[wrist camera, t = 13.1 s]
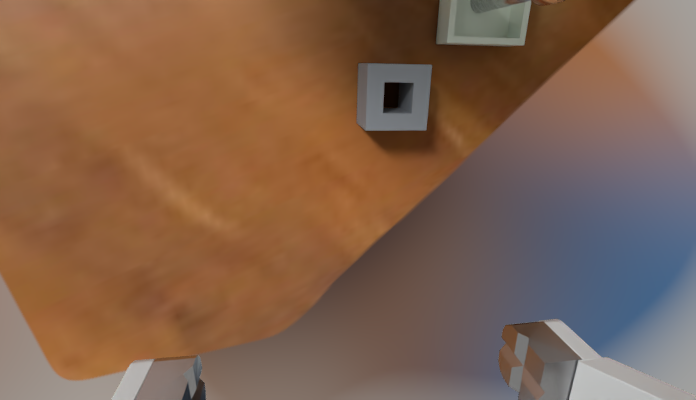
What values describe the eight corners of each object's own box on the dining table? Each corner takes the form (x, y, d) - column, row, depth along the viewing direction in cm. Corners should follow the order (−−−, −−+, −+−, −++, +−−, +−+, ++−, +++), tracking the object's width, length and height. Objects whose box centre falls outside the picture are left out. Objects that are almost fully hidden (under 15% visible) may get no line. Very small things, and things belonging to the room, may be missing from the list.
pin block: (358, 63, 39) (367, 63, 34) (415, 64, 40) (432, 64, 35) (356, 122, 41) (365, 130, 36) (410, 122, 42) (426, 130, 37)
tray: (443, -46, 37) (456, -55, 34) (521, -41, 38) (539, -49, 35) (435, 44, 40) (446, 42, 37) (507, 46, 41) (524, 45, 38)
